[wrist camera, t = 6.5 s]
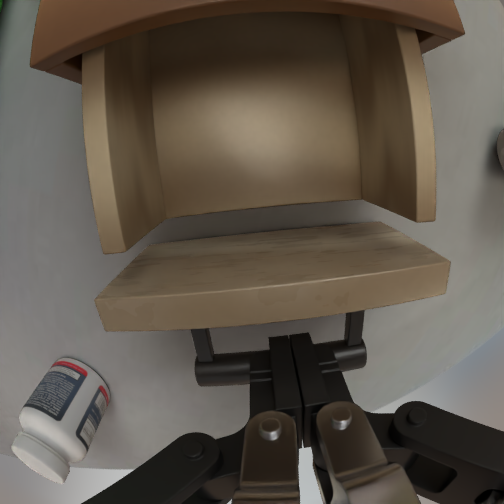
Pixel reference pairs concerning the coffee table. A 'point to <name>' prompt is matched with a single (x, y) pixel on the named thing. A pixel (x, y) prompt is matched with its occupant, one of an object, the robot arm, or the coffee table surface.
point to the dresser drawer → (260, 173)
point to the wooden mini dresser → (203, 6)
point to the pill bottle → (61, 419)
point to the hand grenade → (501, 148)
